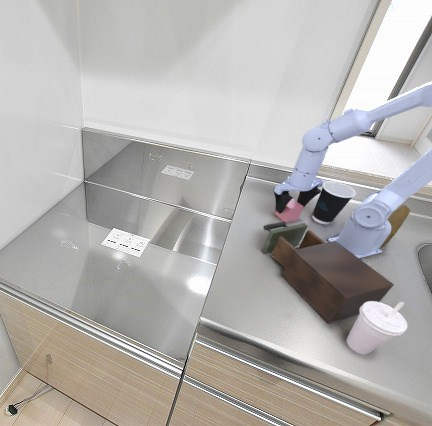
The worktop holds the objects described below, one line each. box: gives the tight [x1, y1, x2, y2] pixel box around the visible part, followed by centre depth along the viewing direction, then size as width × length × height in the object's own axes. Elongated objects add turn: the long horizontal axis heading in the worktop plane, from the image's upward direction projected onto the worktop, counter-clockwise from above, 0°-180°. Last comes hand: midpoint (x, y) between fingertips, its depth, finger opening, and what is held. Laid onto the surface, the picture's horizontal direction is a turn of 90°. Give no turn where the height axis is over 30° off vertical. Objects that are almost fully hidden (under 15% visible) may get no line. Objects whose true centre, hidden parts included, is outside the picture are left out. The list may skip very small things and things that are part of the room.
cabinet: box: [281, 241, 395, 325], centre depth 64 cm, size 14×12×9 cm
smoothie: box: [345, 301, 408, 356], centre depth 53 cm, size 6×6×14 cm
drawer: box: [262, 220, 327, 269], centre depth 73 cm, size 17×10×7 cm, turn 15°
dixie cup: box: [312, 180, 357, 225], centre depth 85 cm, size 8×8×11 cm
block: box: [274, 198, 305, 223], centre depth 88 cm, size 4×4×5 cm
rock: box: [380, 204, 411, 249], centre depth 80 cm, size 11×9×10 cm
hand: (288, 209), depth 88 cm, fingers open, 7 cm apart
